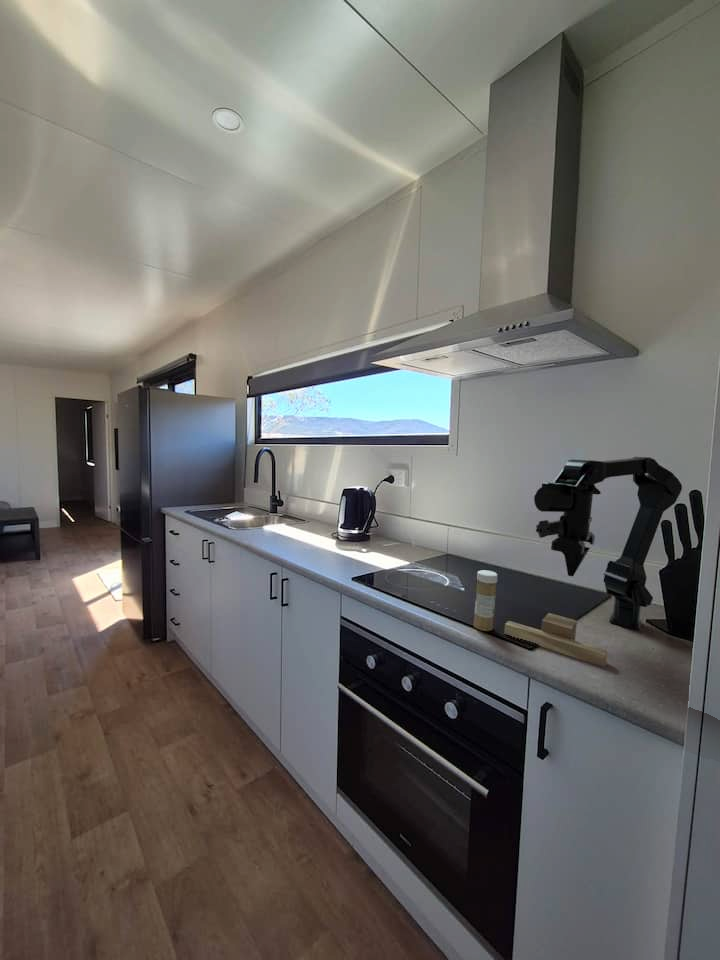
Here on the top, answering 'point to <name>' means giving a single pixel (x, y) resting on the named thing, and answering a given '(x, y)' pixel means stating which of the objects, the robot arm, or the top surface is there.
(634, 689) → the top surface
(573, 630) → the tan wooden block
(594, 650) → the oak board
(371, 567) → the top surface
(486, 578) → the sprinkles bottle
